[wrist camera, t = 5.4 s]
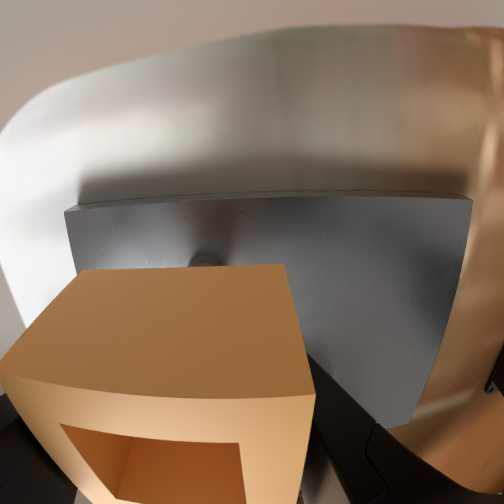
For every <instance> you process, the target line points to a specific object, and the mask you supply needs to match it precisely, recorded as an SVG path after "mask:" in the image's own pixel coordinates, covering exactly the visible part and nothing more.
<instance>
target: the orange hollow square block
mask: <svg viewBox="0 0 504 504" xmlns="http://www.w3.org/2000/svg"><path fill="white" fill-rule="evenodd" d="M0 384H1V386H2V387H3V389H4V391H5V392H6V394H7V396H8V397H9V399H10V401H11V402H12V404H13V405H14V407H15V408H16V410H17V411H18V413H19V415H20V416H21V417H22V419H23V420H24V422H25V423H26V425H27V426H28V428H29V429H30V430H31V432H32V433H33V435H34V436H35V437H36V439H37V440H38V441H39V443H40V444H41V445H42V447H43V448H44V449H45V450H46V452H47V453H48V454H49V455H50V457H51V458H52V459H53V460H54V462H55V463H56V464H57V465H58V466H59V468H60V469H61V470H62V471H63V472H64V473H65V474H66V476H67V477H68V478H69V479H70V480H71V481H72V482H73V483H74V484H75V485H76V487H77V488H78V489H79V490H80V491H81V492H82V493H83V494H84V495H85V496H86V497H87V498H88V499H89V500H90V501H91V502H92V503H93V504H296V502H297V498H298V493H299V488H300V484H301V479H302V474H303V469H304V463H305V458H306V452H307V447H308V441H309V435H310V429H311V423H312V417H313V410H314V404H315V397H316V393H315V388H314V384H313V380H312V376H311V371H310V367H309V363H308V359H307V354H306V350H305V346H304V342H303V338H302V334H301V330H300V326H299V322H298V318H297V314H296V310H295V306H294V302H293V298H292V294H291V290H290V286H289V282H288V278H287V274H286V270H285V266H284V264H265V265H237V266H207V267H174V268H137V269H93V270H82V271H81V272H80V273H79V274H78V275H77V276H76V277H75V278H74V279H73V280H72V281H71V282H70V283H69V284H68V285H67V286H66V287H65V288H64V289H63V290H62V291H61V292H60V294H59V295H58V296H57V297H56V298H55V299H54V300H53V301H52V302H51V303H50V304H49V305H48V306H47V307H46V308H45V309H44V311H43V312H42V313H41V314H40V315H39V316H38V317H37V318H36V319H35V320H34V322H33V323H32V324H31V325H30V326H29V327H28V328H27V329H26V331H25V332H24V333H23V334H22V335H21V336H20V338H19V339H18V340H17V341H16V342H15V344H14V345H13V346H12V347H11V348H10V349H9V351H8V352H7V353H6V354H5V355H4V357H3V358H2V359H1V360H0Z"/></svg>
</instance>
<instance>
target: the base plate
mask: <svg viewBox="0 0 504 504" xmlns="http://www.w3.org/2000/svg"><path fill="white" fill-rule="evenodd" d="M472 204H473V200H472V199H469V198H467V197H465V196H462V195H460V194H448V193H428V192H402V191H351V190H315V191H263V192H236V193H214V194H196V195H180V196H166V197H153V198H141V199H129V200H118V201H108V202H98V203H89V204H80V205H75V206H74V207H72V208H70V209H68V210H66V211H64V216H65V221H66V227H67V232H68V237H69V242H70V246H71V251H72V255H73V260H74V264H75V268H76V272H77V275H78V274H79V273H80V272H81V271H82V270H93V269H137V268H174V267H207V266H237V265H265V264H284V266H285V270H286V274H287V278H288V282H289V286H290V290H291V294H292V298H293V302H294V306H295V310H296V314H297V318H298V322H299V326H300V330H301V334H302V338H303V342H304V346H305V350H306V352H307V353H308V354H309V355H310V356H311V357H312V358H313V359H314V360H315V361H316V362H317V363H318V364H319V365H320V366H321V367H322V368H323V369H324V370H325V371H326V372H327V373H328V374H329V375H330V376H331V377H332V378H333V379H334V380H335V381H336V382H337V383H338V384H339V385H340V386H341V387H342V388H343V389H344V390H345V391H346V392H347V393H348V394H349V395H350V396H351V397H352V398H353V399H354V400H355V401H356V402H357V403H358V404H360V405H361V406H362V407H363V408H364V409H365V410H366V411H367V412H368V413H369V414H370V415H371V416H372V417H373V418H374V419H375V420H376V423H379V424H380V425H381V426H383V427H384V428H385V429H387V428H392V427H396V426H401V425H405V424H408V423H409V421H410V419H411V417H412V415H413V412H414V410H415V408H416V406H417V404H418V401H419V399H420V397H421V394H422V392H423V389H424V387H425V385H426V382H427V380H428V377H429V374H430V372H431V369H432V367H433V364H434V361H435V358H436V356H437V353H438V350H439V347H440V344H441V341H442V338H443V335H444V332H445V329H446V325H447V322H448V319H449V315H450V312H451V308H452V305H453V301H454V297H455V293H456V289H457V285H458V281H459V277H460V273H461V268H462V263H463V259H464V254H465V248H466V243H467V237H468V232H469V225H470V219H471V212H472Z"/></svg>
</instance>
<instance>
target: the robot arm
mask: <svg viewBox="0 0 504 504" xmlns="http://www.w3.org/2000/svg"><path fill="white" fill-rule="evenodd" d="M306 354H307V359H308V363H309V367H310V371H311V376H312V380H313V384H314V388H315V393H316V397H315V404H314V410H313V417H312V423H311V429H310V435H309V441H308V447H307V452H306V458H305V463H304V469H303V474H302V479H301V484H300V487H301V491H302V496H303V500H304V504H504V495H502V494H486V493H480V492H475V491H472V490H470V489H467V488H465V487H463V486H461V485H459V484H458V483H456V482H454V481H453V480H451V479H450V478H448V477H447V476H446V475H444V474H443V473H441V472H440V471H438V470H437V469H435V468H434V467H432V466H431V465H430V464H428V463H427V462H425V461H424V460H422V459H421V458H420V457H418V456H417V455H416V454H414V453H413V452H412V451H410V450H409V449H408V448H406V447H405V446H404V445H402V444H401V443H400V442H399V441H398V440H397V439H396V438H395V437H393V436H392V435H391V434H390V433H389V432H388V431H387V430H386V429H385V428H384V427H383V426H381V425H380V424H379V423H376V420H375V419H374V418H373V417H372V416H371V415H370V414H369V413H368V412H367V411H366V410H365V409H364V408H363V407H362V406H361V405H360V404H358V403H357V402H356V401H355V400H354V399H353V398H352V397H351V396H350V395H349V394H348V393H347V392H346V391H345V390H344V389H343V388H342V387H341V386H340V385H339V384H338V383H337V382H336V381H335V380H334V379H333V378H332V377H331V376H330V375H329V374H328V373H327V372H326V371H325V370H324V369H323V368H322V367H321V366H320V365H319V364H318V363H317V362H316V361H315V360H314V359H313V358H312V357H311V356H310V355H309V354H308V353H307V352H306ZM484 391H485V393H486V394H487V395H488V394H491V393H494V392H496V391H500V392H501V394H502V395H503V397H504V349H503V351H502V354H501V356H500V358H499V360H498V363H497V365H496V367H495V369H494V371H493V373H492V375H491V377H490V379H489V381H488V383H487V385H486V387H485V389H484ZM77 489H78V488H77V487H76V485H75V484H74V483H73V482H72V481H71V480H70V479H69V478H68V477H67V476H66V474H65V473H64V472H63V471H62V470H61V469H60V468H59V466H58V465H57V464H56V463H55V462H54V460H53V459H52V458H51V457H50V455H49V454H48V453H47V452H46V450H45V449H44V448H43V447H42V445H41V444H40V443H39V441H38V440H37V439H36V437H35V436H34V435H33V433H32V432H31V430H30V429H29V428H28V426H27V425H26V423H25V422H24V420H23V419H22V417H21V416H20V415H19V413H18V411H17V410H16V408H15V407H14V405H13V404H12V402H11V401H10V399H9V397H8V396H7V394H6V393H4V394H3V395H1V396H0V504H74V501H75V497H76V493H77Z"/></svg>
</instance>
